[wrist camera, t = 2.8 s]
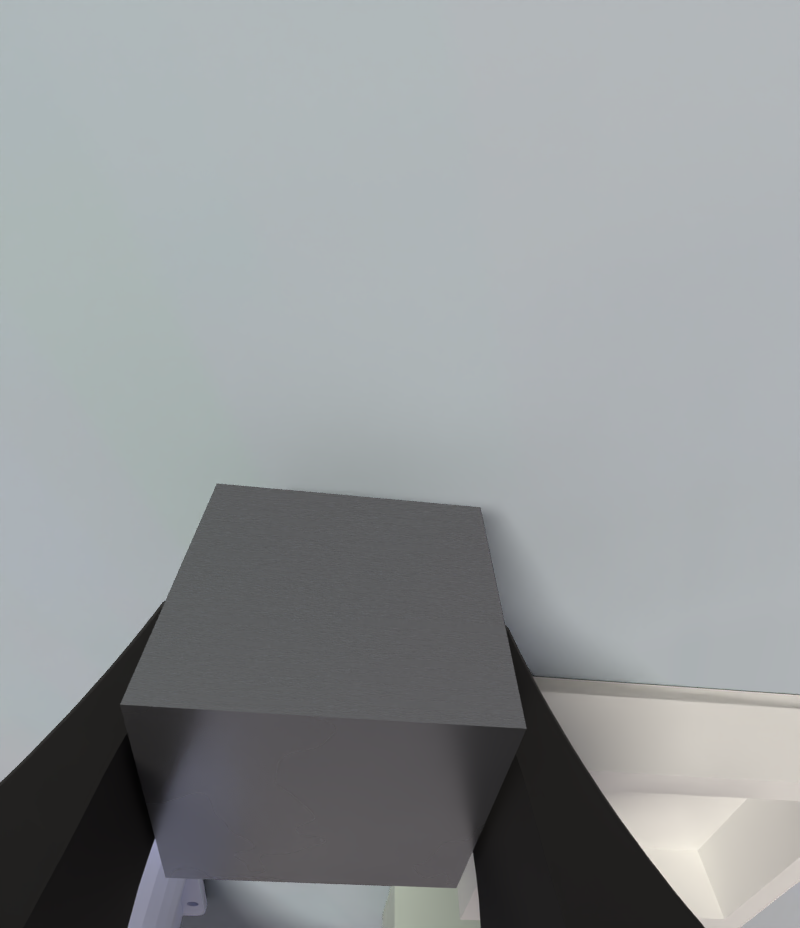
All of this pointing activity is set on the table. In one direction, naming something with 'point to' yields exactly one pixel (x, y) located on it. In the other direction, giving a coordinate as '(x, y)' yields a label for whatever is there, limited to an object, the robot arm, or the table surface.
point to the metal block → (326, 693)
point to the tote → (690, 787)
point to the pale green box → (424, 908)
